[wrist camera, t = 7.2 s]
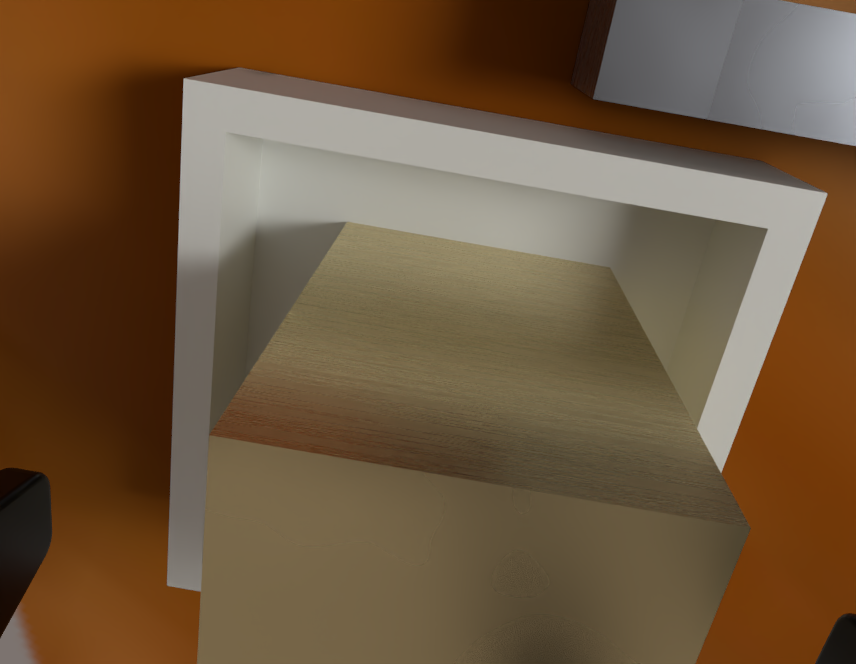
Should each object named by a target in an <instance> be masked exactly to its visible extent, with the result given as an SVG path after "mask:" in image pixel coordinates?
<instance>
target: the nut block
mask: <svg viewBox="0 0 856 664" xmlns="http://www.w3.org/2000/svg"><path fill="white" fill-rule="evenodd" d="M750 529H751V528H750V526H749V524H748V522H747V521H746V519H745V517H744V515H743V513H742V511H741V509H740V508H739V506H738V504H737V502H736V500H735V498H734V496H733V495H732V493H731V491H730V489H729V487H728V485H727V483H726V482H725V480H724V478H723V476H722V474H721V472H720V470H719V469H718V467H717V465H716V463H715V461H714V459H713V458H712V456H711V454H710V452H709V450H708V448H707V446H706V445H705V443H704V441H703V439H702V437H701V435H700V433H699V432H698V430H697V428H696V426H695V424H694V422H693V420H692V419H691V417H690V415H689V413H688V411H687V409H686V407H685V406H684V404H683V402H682V400H681V398H680V396H679V395H678V393H677V391H676V389H675V387H674V385H673V383H672V382H671V380H670V378H669V376H668V374H667V372H666V370H665V369H664V367H663V365H662V363H661V361H660V359H659V357H658V356H657V354H656V352H655V350H654V348H653V346H652V344H651V343H650V341H649V339H648V337H647V335H646V333H645V331H644V330H643V328H642V326H641V324H640V322H639V320H638V319H637V317H636V315H635V313H634V311H633V309H632V307H631V306H630V304H629V302H628V300H627V298H626V296H625V294H624V293H623V291H622V289H621V287H620V285H619V283H618V281H617V280H616V278H615V276H614V274H613V272H612V270H611V268H610V267H605V266H599V265H593V264H588V263H582V262H576V261H570V260H565V259H559V258H553V257H547V256H542V255H536V254H530V253H524V252H519V251H513V250H507V249H501V248H496V247H490V246H484V245H478V244H473V243H467V242H461V241H455V240H450V239H444V238H438V237H433V236H427V235H421V234H415V233H410V232H404V231H398V230H392V229H387V228H381V227H375V226H369V225H364V224H358V223H352V222H347V223H346V224H345V226H344V227H343V229H342V231H341V232H340V234H339V235H338V237H337V238H336V240H335V241H334V243H333V244H332V246H331V248H330V249H329V251H328V252H327V254H326V255H325V257H324V258H323V260H322V261H321V263H320V265H319V266H318V268H317V269H316V271H315V272H314V274H313V275H312V277H311V278H310V280H309V282H308V283H307V285H306V286H305V288H304V289H303V291H302V292H301V294H300V295H299V297H298V299H297V300H296V302H295V303H294V305H293V306H292V308H291V309H290V311H289V312H288V314H287V316H286V317H285V319H284V320H283V322H282V323H281V325H280V326H279V328H278V329H277V331H276V332H275V334H274V336H273V337H272V339H271V340H270V342H269V343H268V345H267V346H266V348H265V349H264V351H263V353H262V354H261V356H260V357H259V359H258V360H257V362H256V363H255V365H254V366H253V368H252V370H251V371H250V373H249V374H248V376H247V377H246V379H245V380H244V382H243V383H242V385H241V387H240V388H239V390H238V391H237V393H236V394H235V396H234V397H233V399H232V400H231V402H230V404H229V405H228V407H227V408H226V410H225V411H224V413H223V414H222V416H221V417H220V419H219V421H218V422H217V424H216V425H215V427H214V428H213V430H212V431H211V433H210V434H209V446H208V465H207V484H206V504H205V523H204V542H203V561H202V581H201V600H200V619H199V639H198V658H197V664H695V663H696V660H697V658H698V655H699V653H700V651H701V648H702V646H703V643H704V641H705V638H706V636H707V633H708V631H709V629H710V626H711V624H712V621H713V619H714V616H715V614H716V612H717V609H718V607H719V604H720V602H721V599H722V597H723V594H724V592H725V590H726V587H727V585H728V582H729V580H730V577H731V575H732V573H733V570H734V568H735V565H736V563H737V560H738V558H739V555H740V553H741V551H742V548H743V546H744V543H745V541H746V538H747V536H748V534H749V531H750Z"/></svg>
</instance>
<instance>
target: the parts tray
mask: <svg viewBox="0 0 856 664" xmlns="http://www.w3.org/2000/svg"><path fill="white" fill-rule="evenodd" d="M827 194H828V193H826V192H824V191H822V190H820V189H818V188H816V187H814V186H812V185H810V184H808V183H806V182H804V181H802V180H799V179H797V178H795V177H793V176H791V175H789V174H787V173H785V172H783V171H781V170H779V169H777V168H775V167H773V166H771V165H769V164H767V163H765V162H763V161H759V160H754V159H748V158H743V157H737V156H732V155H726V154H720V153H715V152H709V151H704V150H698V149H692V148H687V147H681V146H676V145H670V144H664V143H659V142H653V141H648V140H642V139H636V138H631V137H625V136H620V135H614V134H608V133H603V132H597V131H592V130H586V129H581V128H575V127H569V126H564V125H558V124H553V123H547V122H541V121H536V120H530V119H525V118H519V117H513V116H508V115H502V114H497V113H491V112H485V111H480V110H474V109H469V108H463V107H458V106H452V105H446V104H441V103H435V102H430V101H424V100H418V99H413V98H407V97H402V96H396V95H390V94H385V93H379V92H374V91H368V90H362V89H357V88H351V87H346V86H340V85H334V84H329V83H323V82H318V81H312V80H307V79H301V78H295V77H290V76H284V75H279V74H273V73H267V72H262V71H256V70H251V69H245V68H234V69H229V70H224V71H219V72H214V73H208V74H203V75H198V76H193V77H188V78H184V81H183V112H182V142H181V173H180V203H179V234H178V264H177V295H176V325H175V356H174V387H173V417H172V448H171V478H170V509H169V539H168V570H167V586H172V587H177V588H183V589H189V590H195V591H201V581H202V561H203V542H204V523H205V504H206V484H207V465H208V446H209V434H210V433H211V431H212V430H213V428H214V427H215V425H216V424H217V422H218V421H219V419H220V417H221V416H222V414H223V413H224V411H225V410H226V408H227V407H228V405H229V404H230V402H231V400H232V399H233V397H234V396H235V394H236V393H237V391H238V390H239V388H240V387H241V385H242V383H243V382H244V380H245V379H246V377H247V376H248V374H249V373H250V371H251V370H252V368H253V366H254V365H255V363H256V362H257V360H258V359H259V357H260V356H261V354H262V353H263V351H264V349H265V348H266V346H267V345H268V343H269V342H270V340H271V339H272V337H273V336H274V334H275V332H276V331H277V329H278V328H279V326H280V325H281V323H282V322H283V320H284V319H285V317H286V316H287V314H288V312H289V311H290V309H291V308H292V306H293V305H294V303H295V302H296V300H297V299H298V297H299V295H300V294H301V292H302V291H303V289H304V288H305V286H306V285H307V283H308V282H309V280H310V278H311V277H312V275H313V274H314V272H315V271H316V269H317V268H318V266H319V265H320V263H321V261H322V260H323V258H324V257H325V255H326V254H327V252H328V251H329V249H330V248H331V246H332V244H333V243H334V241H335V240H336V238H337V237H338V235H339V234H340V232H341V231H342V229H343V227H344V226H345V224H346V223H347V222H352V223H358V224H364V225H369V226H375V227H381V228H387V229H392V230H398V231H404V232H410V233H415V234H421V235H427V236H433V237H438V238H444V239H450V240H455V241H461V242H467V243H473V244H478V245H484V246H490V247H496V248H501V249H507V250H513V251H519V252H524V253H530V254H536V255H542V256H547V257H553V258H559V259H565V260H570V261H576V262H582V263H588V264H593V265H599V266H605V267H610V268H611V270H612V272H613V274H614V276H615V278H616V280H617V281H618V283H619V285H620V287H621V289H622V291H623V293H624V294H625V296H626V298H627V300H628V302H629V304H630V306H631V307H632V309H633V311H634V313H635V315H636V317H637V319H638V320H639V322H640V324H641V326H642V328H643V330H644V331H645V333H646V335H647V337H648V339H649V341H650V343H651V344H652V346H653V348H654V350H655V352H656V354H657V356H658V357H659V359H660V361H661V363H662V365H663V367H664V369H665V370H666V372H667V374H668V376H669V378H670V380H671V382H672V383H673V385H674V387H675V389H676V391H677V393H678V395H679V396H680V398H681V400H682V402H683V404H684V406H685V407H686V409H687V411H688V413H689V415H690V417H691V419H692V420H693V422H694V424H695V426H696V428H697V430H698V432H699V433H700V435H701V437H702V439H703V441H704V443H705V445H706V446H707V448H708V450H709V452H710V454H711V456H712V458H713V459H714V461H715V463H716V465H717V467H718V469H719V470H720V472H722V469H723V467H724V464H725V462H726V459H727V456H728V454H729V451H730V448H731V446H732V443H733V441H734V438H735V435H736V433H737V430H738V427H739V425H740V422H741V420H742V417H743V414H744V412H745V409H746V406H747V404H748V401H749V399H750V396H751V393H752V391H753V388H754V386H755V383H756V380H757V378H758V375H759V372H760V370H761V367H762V365H763V362H764V359H765V357H766V354H767V351H768V349H769V346H770V344H771V341H772V338H773V336H774V333H775V330H776V328H777V325H778V323H779V320H780V317H781V315H782V312H783V310H784V307H785V304H786V302H787V299H788V296H789V294H790V291H791V289H792V286H793V283H794V281H795V278H796V275H797V273H798V270H799V268H800V265H801V262H802V260H803V257H804V254H805V252H806V249H807V247H808V244H809V241H810V239H811V236H812V234H813V231H814V228H815V226H816V223H817V220H818V218H819V215H820V213H821V210H822V207H823V205H824V202H825V199H826V197H827Z"/></svg>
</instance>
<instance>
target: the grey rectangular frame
mask: <svg viewBox="0 0 856 664" xmlns="http://www.w3.org/2000/svg"><path fill="white" fill-rule="evenodd" d="M571 85H573V86H574V87H576V88H577V89H579V90H580V91H582V92H583V93H585V94H586V95H588V96H589V97H591V98H592V99H596V100H601V101H607V102H613V103H618V104H624V105H629V106H635V107H640V108H646V109H652V110H657V111H663V112H668V113H674V114H680V115H685V116H691V117H696V118H702V119H707V120H713V121H719V122H724V123H730V124H735V125H741V126H747V127H752V128H758V129H763V130H769V131H774V132H780V133H786V134H791V135H797V136H802V137H808V138H814V139H819V140H825V141H830V142H836V143H841V144H847V145H853V146H856V14H853V13H847V12H842V11H836V10H831V9H825V8H820V7H814V6H809V5H803V4H797V3H792V2H786V1H781V0H590V2H589V6H588V10H587V15H586V19H585V23H584V28H583V32H582V36H581V41H580V45H579V49H578V54H577V58H576V63H575V67H574V71H573V76H572V80H571Z"/></svg>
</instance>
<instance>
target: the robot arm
mask: <svg viewBox="0 0 856 664" xmlns="http://www.w3.org/2000/svg"><path fill="white" fill-rule="evenodd" d="M51 537H52V518H51V495H50V483H49V480H48V478H47V476H46V475H44V474H43V473H41V472H36V471H30V470H24V469H18V468H6V469H2V470H0V638H1V636H2V634H3V632H4V630H5V629H6V627H7V625H8V623H9V621H10V619H11V618H12V616H13V614H14V612H15V610H16V609H17V607H18V605H19V603H20V601H21V599H22V598H23V596H24V594H25V592H26V590H27V589H28V587H29V585H30V583H31V581H32V579H33V578H34V576H35V574H36V572H37V570H38V569H39V567H40V565H41V563H42V561H43V559H44V558H45V556H46V554H47V551H48V549H49V546H50V542H51ZM815 664H856V614H852V613H848V614H844V615H842V616H841V617H840V618H838V620H837V621H836V623H835V625H834V627H833V629H832V631H831V633H830V635H829V637H828V639H827V641H826V643H825V645H824V647H823V649H822V651H821V653H820V655H819V657H818V659H817V661H816V663H815Z"/></svg>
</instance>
